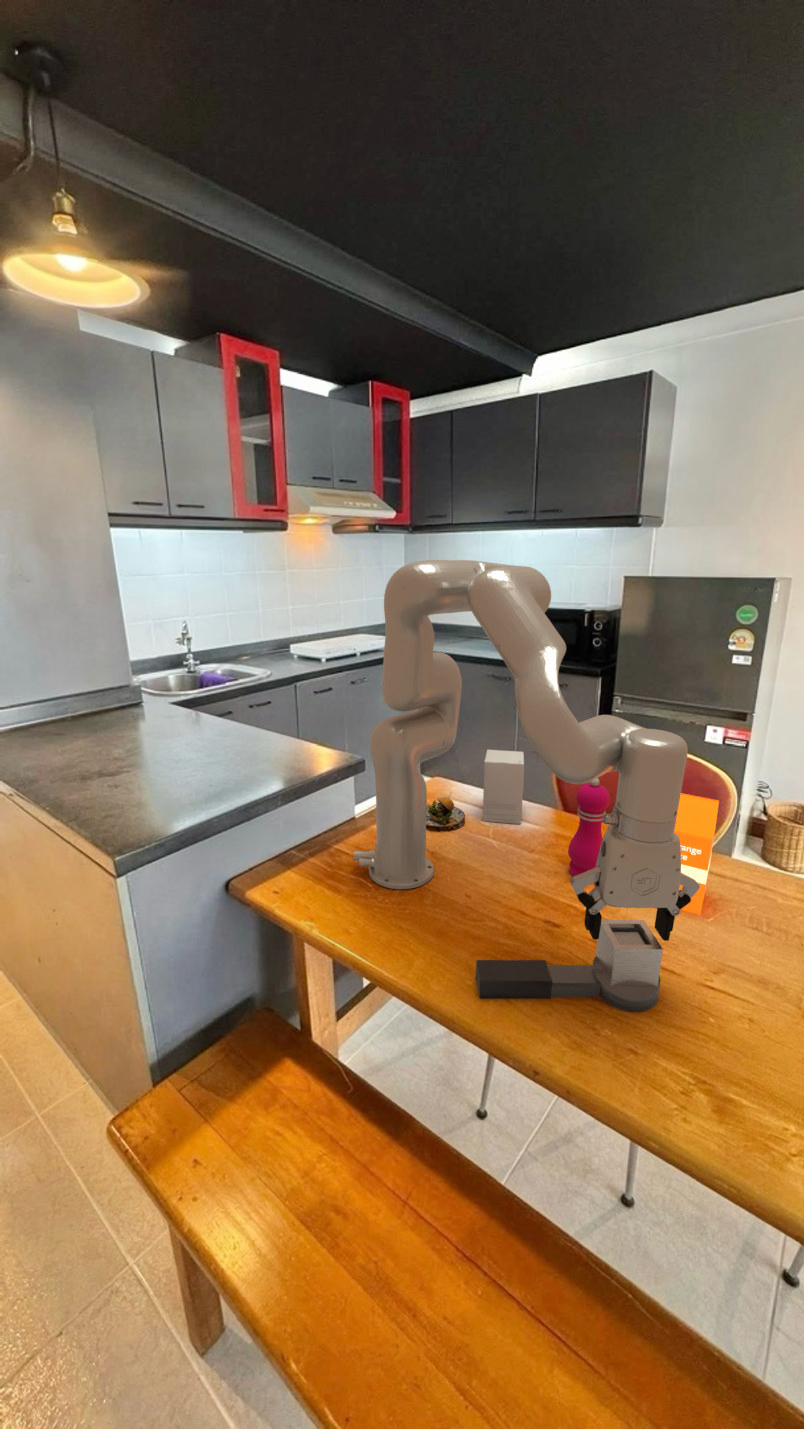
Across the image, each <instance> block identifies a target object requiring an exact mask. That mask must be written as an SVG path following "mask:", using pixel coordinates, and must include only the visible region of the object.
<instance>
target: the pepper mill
mask: <svg viewBox="0 0 804 1429" xmlns="http://www.w3.org/2000/svg"><path fill="white" fill-rule="evenodd" d="M575 797H576V798H575V800H576V803H577V804H578V807H577V816H578V817H579V823H578V828H577V830H576V831H575V833H574V836H573V837H572V839H571V840H570V843H569V845H568V849H567V853H568V857H569V859H570V861H569V863H568V864H569V867H568V871H569V874H571V876H572V877H574V876H577V875H579V874H581V873H584V872H586V871H589V870H591V869H593V868H596V863H597V858H598V854H599V850H600V847H601V844H602V840H603V838H604V836H603V835H602V824H603V815H604V814H607V813H606V809H607V808H608V807H609V805H610V802H611V797H610V794H609V791H608V789H606V787H604V785H600V779H599V777H598V778H597V779H595V780H593V781H591V782H589V783H585V784H582V785H581V786H580V787H579V788H578V790H577V791H576V795H575Z"/></svg>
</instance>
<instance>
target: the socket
mask: <svg viewBox="0 0 804 1429" xmlns="http://www.w3.org/2000/svg"><path fill="white" fill-rule="evenodd" d="M613 932H638V934H639V935H640V937H641V938H642V940H643V942H644V943H645V945H619V943H618V941H617V939H616V937H615V936H614V934H613ZM595 949H596V950H595V957H597V959H598V961H599V963H600V965H601V967H602V969H603V971H604V973H605V976H606V978H607V980H608V982H609V984H610V986H620V987H658V980H659V974H660V973H661V965H662V958H663V952H664V948H663V946H662V945H661V944H660V943H659V940H658V939H657V938H656V936H655V935H654V933H653V931H652V930H651V929H650V927H649V926H648V924H647V922H646V921H645V920H644V919H601V926H600V934H599V939H597V941H596V948H595Z"/></svg>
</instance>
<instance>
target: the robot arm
mask: <svg viewBox="0 0 804 1429" xmlns="http://www.w3.org/2000/svg"><path fill="white" fill-rule="evenodd" d="M383 596H384V598H383V611H384V622H385V624H384V625H385V635H384V637H385V638H384V650H383V662H382V664H383V665H382V678H381V688H382V691H381V692H382V693H381V694H382V697H383V701H384V703H385V704H386V706H387V707H388V708H390V709H391V710H393V711H396V712H405V713H401V714H400V713H399V714H398V715H394V716H391V717H388V718H386V719H383V720H382V721H380V722H379V723H378V724H377V725H376V726H374V728H373V729H372V731H371V734H370V736H369V749H370V754H371V758H372V762H373V767H374V777H375V778H374V780H375V807H376V808H375V810H376V811H375V812H376V813H375V814H376V816H375V818H376V819H375V821H376V823H375V825H376V829H375V830H376V844H375V847H374V848H375V849H373V848H371V849H369V851H368V850H367V851H366V850H365V851H364V850H354V851H353V861H356V862H358V866H359V867H368V874H369V877H370V879H371V880H372V881H373V882H374V883H376V884H377V885H380V886H382V887H384V888H388V889H393V890H410V889H416V888H418V887H421V886H423V885H425V884H427V883H428V882H429V881H431V879H432V878H433V876H434V864H433V862H432V861H430V859H429V858H427V857H426V854H427V825H426V810H427V805H428V804H427V803H428V802H427V797H428V796H427V795H428V793H427V785H426V780H425V779H424V776H423V774H422V773H421V770H420V767H419V766H420V764H421V763H424V762H426V761H428V760H430V759H433V758H436V757H438V756H441V755H443V754H445V753H447V752H448V751H449V750H450V749H451V748H452V747H453V745H454V743H455V740H456V738H457V737H456V736H457V732H458V724H459V715H460V707H461V700H462V698H461V697H462V690H463V689H462V688H463V682H462V681H463V680H462V674H461V671H460V667H459V665H458V664H457V662H456V661H455V659H453V657H451V656H450V655H448V654H446V653H444V652H439V651H438V652H437V651H436V652H435V651H434V649H435V648H434V646H435V631H434V627H433V624H432V621H431V619H430V617H429V616H433V615H440V614H441V615H442V614H455V613H456V614H457V613H463V612H471V613H472V615H473V616H474V617H475V619H476V621H477V622H478V623H479V626H481V628H482V629H483V631H484V633H485V635H486V636H487V637H488V639H489V641H490V642H491V644H492V645H493V646H494V648H495V650H496V651H497V652H498V654H499V656H500V657H501V659H502V660H503V662H504V664H505V665H506V667H507V668H508V669H509V671H510V673H511V674H512V676H513V679H514V696H515V703H516V708H517V714H518V719H519V721H520V725H521V726H522V729H523V732H524V733H525V735H526V737H527V739H528V741H529V742H530V744H531V745H532V747H533V748H534V750H535V751H536V753H537V754H538V756H539V757H540V759H541V760H542V762H543V763H544V764H545V766H546V767H547V768H548V769H549V771H551V773H553V775H554V776H555V777H557V778H558V779H560V780H562V781H563V782H564V783H568V784H571V785H585V784H589V783H590V782H591V781H593V780H595V779H597V778H598V779H599V778H600V777H602V776H603V775H605V774H608V773H611V772H618V773H619V774H618V781H617V788H616V790H617V791H616V796H615V805H613V807H612V812H610V813H605V814H604V815H603V820H602V822H603V824H604V825H607V826H608V827H607V828H606V831H605V833H604V835H603V840H602V844H601V847H600V850H599V854H598V858H597V863H596V868H593V869H591V870H589V871H586V872H584V873H581V874H579V875H577V876H572V877H570V879H569V883H570V885H571V886H572V889H573V891H574V894H575V895H576V898H577V900H578V901H579V903H581V905H583V906H584V907H585V908H586V909H585V914H584V915H585V916H584V922H583V923H584V927H585V930H586V931H589V934H590V936H591V937H592V939H593V940H597V939H599V934H600V926H601V920H603V919H602V918H603V917H602V916H603V915H602V913H601V910H603V909H604V908H605V907H606V906H608V907H612V908H626V909H627V908H629V909H632V908H635V909H656V913H655V914H656V915H655V921H654V929H655V930H656V932H657V933H658V935H659V936H660V938H661V939H662V940H663V941H664V942H668V941H669V940H670V936H671V932H673V930H674V925H675V919H676V916H679V915H680V914H681V909H682V908H683V907H685V906H686V905H687V904H689V903H690V902H691V897H693V896H694V895H695V894H696V892H697V891H698V890H699V888H700V885H699V884H698V883H697V882H696V881H695V880H694V879H692V878H690V877H689V876H687V875H685V874H683V873H681V845H680V838H679V836H678V835H677V834H675V833H674V831H675V825H676V819H677V812H678V807H679V801H680V795H681V793H682V789H683V783H684V776H685V771H686V767H687V766H686V765H687V759H688V753H689V751H688V750H689V749H688V744H687V742H686V741H685V739H684V738H683V737H681V736H680V735H678V734H676V733H674V732H670V731H668V730H667V731H666V730H662V729H656V728H646V727H643V726H641V725H638V724H636V723H633V722H631V721H630V720H626V719H624V718H621V717H619V716H615V715H611V714H601V715H600V714H599V715H596V716H593V717H590V718H588V719H585V720H581V721H580V722H579V721H578V720H577V719H576V717H575V716H574V714H573V713H572V711H571V710H570V708H569V706H568V704H567V702H566V701H565V699H564V697H563V694H562V692H561V689H560V688H561V687H560V683H559V671H560V670H559V669H560V668H561V667H560V666H561V663H562V662H563V659H564V656H566V655H565V654H566V652H567V644H566V642H565V640H564V638H562V636H561V635H560V633H559V632H558V631H557V629H556V627H555V626H554V625H553V623H552V622H551V620H550V619H549V618H548V616H547V615H546V614H545V613H546V612H547V610H548V609H549V608H550V604H551V601H552V590H551V585H550V583H549V582H548V580H547V578H546V577H545V575H544V574H543V573H542V572H540V571H539V570H537V569H536V568H534V567H532V566H525V565H524V566H523V565H512V564H504V563H497V562H496V563H495V562H488V561H481V560H471V559H470V560H468V559H467V560H465V559H464V560H462V559H461V560H459V559H456V560H455V559H454V560H449V559H429V560H419V561H414V562H410V563H408V564H405V565H403V566H401V567H399V568H398V569H397V570H396V571H395V572H394V573H393V574H391V577H389V580H388V581H387V584H386V587H385V590H384V595H383ZM592 884H593V886H594V888H593V889H591V890H590V892H586V891H585V887H586V886H590V885H592ZM680 885H682V886H683V887H682V890H679V888H680Z"/></svg>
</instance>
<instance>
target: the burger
mask: <svg viewBox="0 0 804 1429" xmlns="http://www.w3.org/2000/svg"><path fill="white" fill-rule="evenodd" d="M451 794H452V793H450V795H449V796H439V797H438V798H437V801H438V802H437V801H436V800H435V799H434V800H433V801H432V803H431V804H427V810H426V826H428V827H433V828H438V829H439V832H440V833H441V832H442V833H445V832H446V833H447V832H450V829H451V828H453V829H454V830H456V831H457V830H459V829H460V828H462V826H464V824H466V815H465V812H464V811H463V810H462V809H460V808H459V807H456V806H455V803H454V801H453V800H452V799H451V798H450V796H451Z"/></svg>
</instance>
